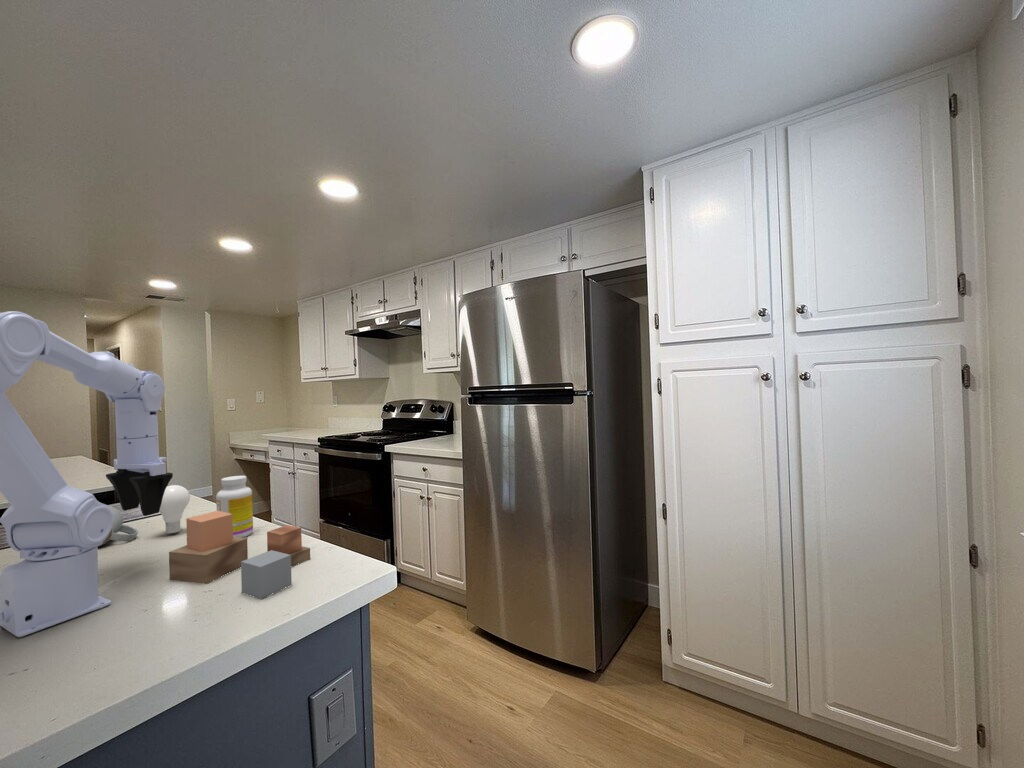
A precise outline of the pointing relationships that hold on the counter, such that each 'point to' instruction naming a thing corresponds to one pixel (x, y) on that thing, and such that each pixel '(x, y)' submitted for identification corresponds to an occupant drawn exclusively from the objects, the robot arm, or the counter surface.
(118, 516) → the ceramic mug
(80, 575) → the robot arm
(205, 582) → the walnut base
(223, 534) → the terracotta block
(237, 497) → the supplement bottle
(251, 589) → the grey block
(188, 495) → the lightbulb
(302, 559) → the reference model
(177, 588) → the counter surface
